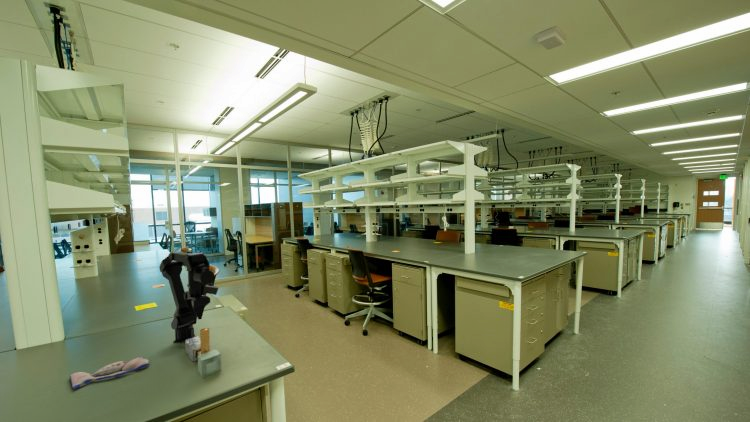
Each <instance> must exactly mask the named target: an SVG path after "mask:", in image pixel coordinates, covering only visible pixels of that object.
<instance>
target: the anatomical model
mask: <svg viewBox="0 0 750 422" xmlns="http://www.w3.org/2000/svg"><path fill="white" fill-rule="evenodd" d="M148 366H150V361H149V359H148V358H144V356H139V357H135V358H133V359H131V360H129V361H125V360H121V361H116V362H113V363H110V364H108V365H105V366H103V367H101V368H100V369H98V370H97V371H95V372H94V373H92V374H91V373H88V372H84V371H77V372H74V373H72V374H71V375H70V376H69V379H70V384H71V387H72V389H73V390H77V389H78V388H81V387H84V386H86V385H89V384H91V383H92V382H94V381H100V380H101V381H102V380H105V379H113V378H118V377H121V376H123V375H126V374H128V373H130V372H133V371H136V370H141V369H145V368H147V367H148Z"/></svg>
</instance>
